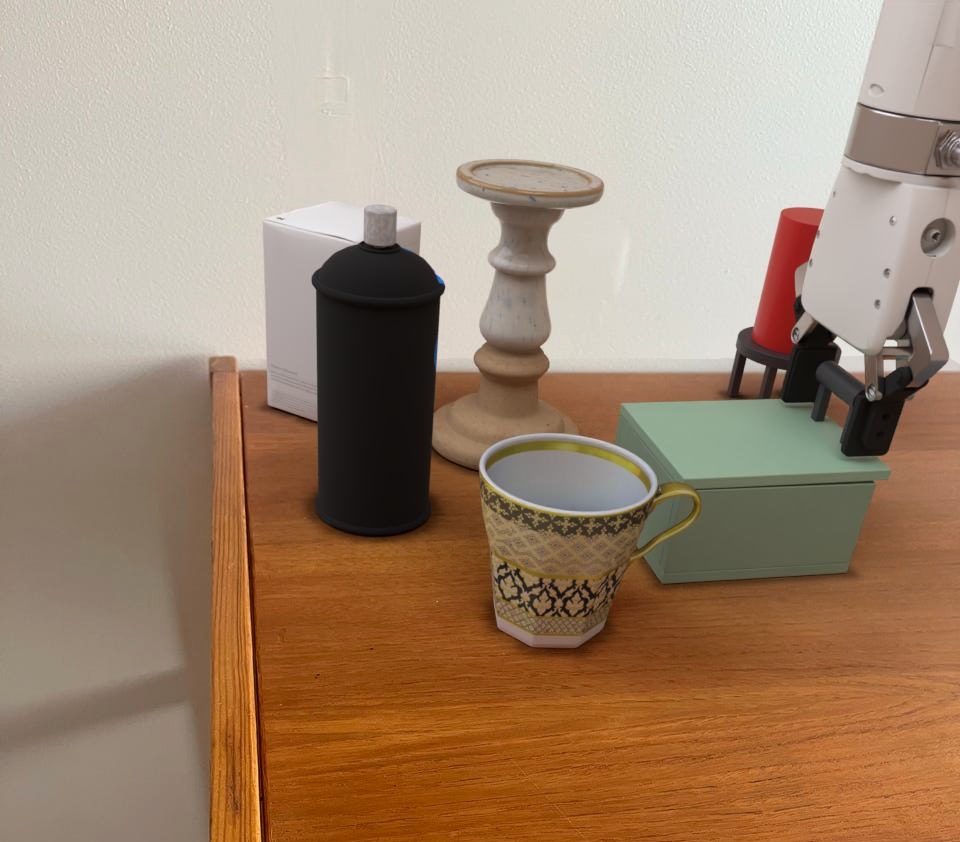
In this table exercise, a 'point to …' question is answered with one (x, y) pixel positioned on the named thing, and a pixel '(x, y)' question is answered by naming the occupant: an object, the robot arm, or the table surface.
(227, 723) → the table surface
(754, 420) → the lid
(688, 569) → the green open box
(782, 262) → the can
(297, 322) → the rectangular carton
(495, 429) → the candle holder
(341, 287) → the aerosol can
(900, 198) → the robot arm
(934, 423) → the table surface
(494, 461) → the ceramic cup
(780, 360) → the stool
